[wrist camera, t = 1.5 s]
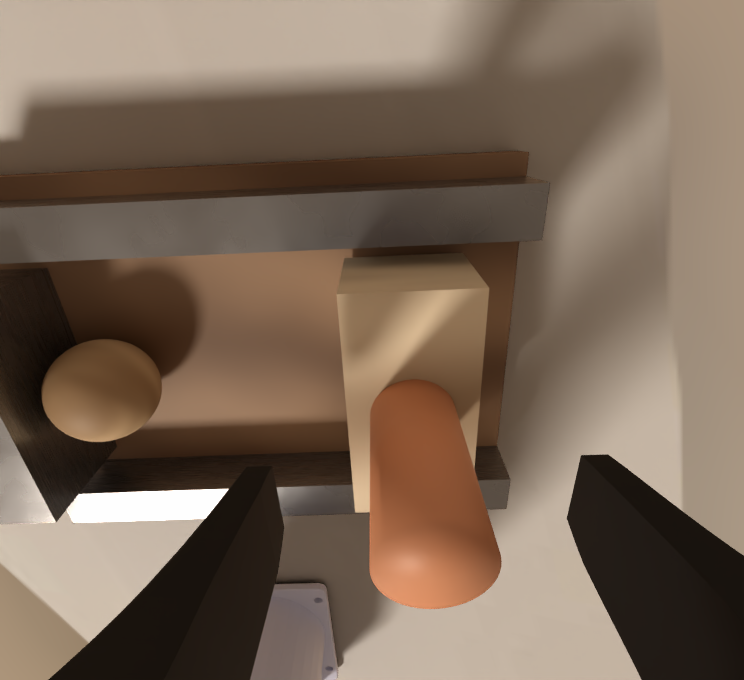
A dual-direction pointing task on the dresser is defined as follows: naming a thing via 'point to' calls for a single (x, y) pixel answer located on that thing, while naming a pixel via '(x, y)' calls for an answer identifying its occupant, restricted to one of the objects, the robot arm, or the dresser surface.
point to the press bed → (222, 324)
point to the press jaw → (418, 423)
